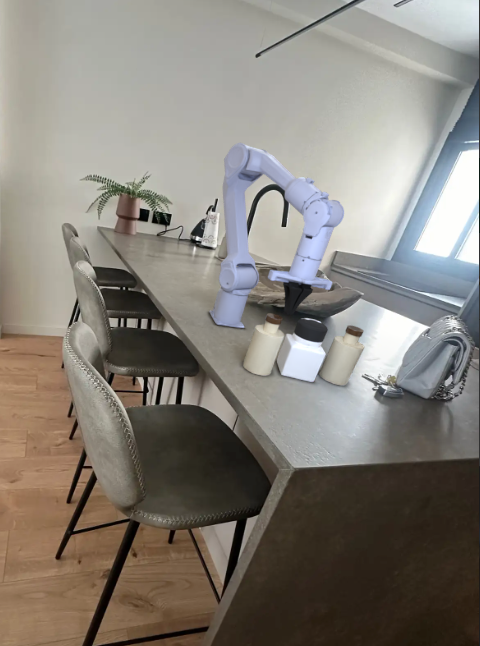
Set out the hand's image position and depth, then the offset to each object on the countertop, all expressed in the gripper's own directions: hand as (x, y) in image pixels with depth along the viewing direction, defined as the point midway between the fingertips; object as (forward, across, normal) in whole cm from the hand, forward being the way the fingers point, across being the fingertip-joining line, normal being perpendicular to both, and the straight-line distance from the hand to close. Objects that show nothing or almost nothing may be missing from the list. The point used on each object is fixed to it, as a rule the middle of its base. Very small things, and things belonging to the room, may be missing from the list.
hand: (287, 313), depth 88 cm
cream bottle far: (+9, +9, -12) cm, 18 cm away
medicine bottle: (+10, 0, -11) cm, 15 cm away
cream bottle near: (+9, -9, -12) cm, 18 cm away
